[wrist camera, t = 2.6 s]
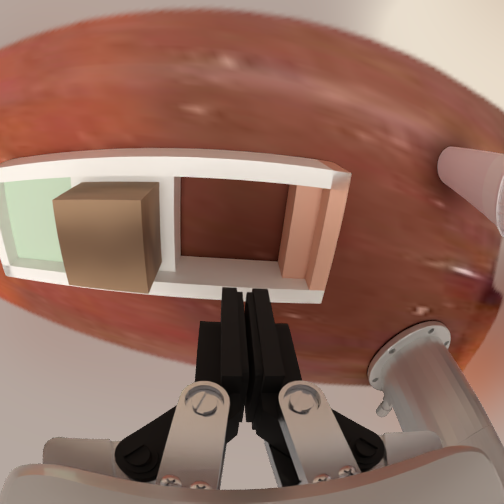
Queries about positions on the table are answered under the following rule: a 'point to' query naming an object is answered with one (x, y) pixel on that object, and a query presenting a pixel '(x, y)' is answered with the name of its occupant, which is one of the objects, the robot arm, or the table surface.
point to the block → (110, 234)
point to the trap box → (169, 177)
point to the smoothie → (476, 179)
